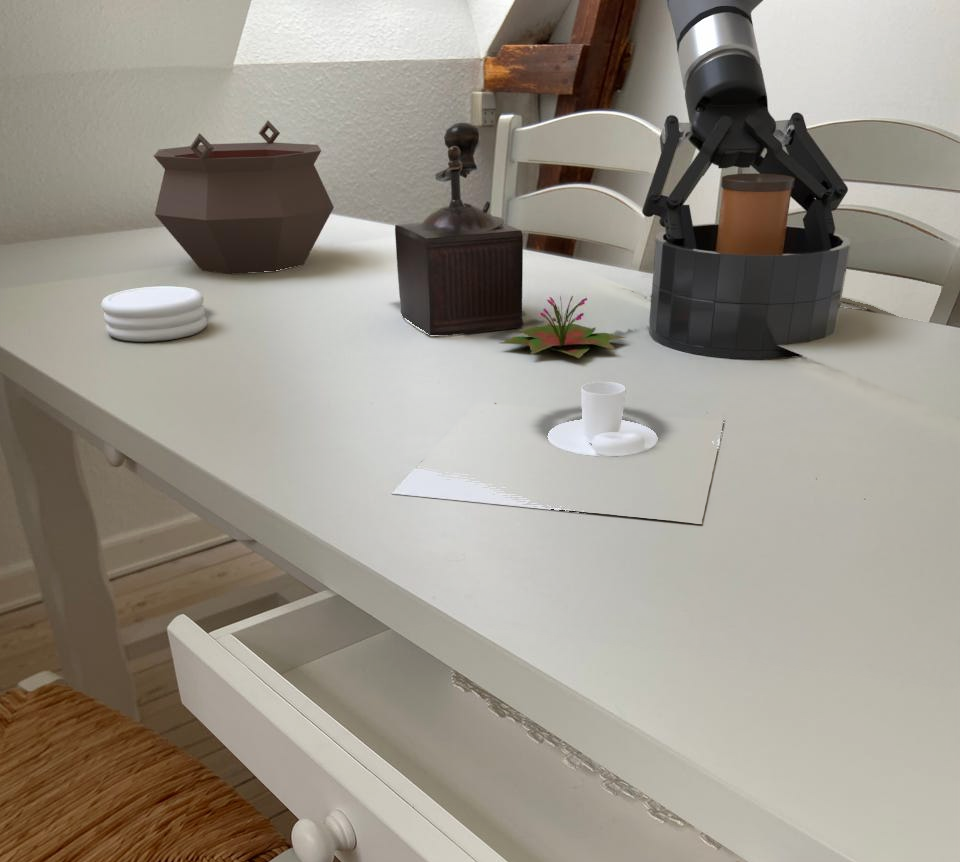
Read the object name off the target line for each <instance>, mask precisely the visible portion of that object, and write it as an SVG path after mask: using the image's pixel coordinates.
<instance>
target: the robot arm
mask: <svg viewBox="0 0 960 862" xmlns="http://www.w3.org/2000/svg"><path fill="white" fill-rule="evenodd" d="M763 1H764V0H666V5H667V9H668V12H669V14H670V19H671V23H672V24H671V25H672V28H673V32H674V37H675V42H676V52H677V59H678V65H679V70H680V76H681V82H682V88H683V90H684V99H685V105H686V111H687V117H688V122H679V118H678V117H677V116H676V115H674V114H669V115H668V116H666V118H665V120H664V124H663V126H662V129H661V133H660V134H659V135H660V136H659V144H660V155H659V158H658V161H657V164H656V167H655V170H654V173H653V177H652V180H651V182H650V186H649V187H648V188H649V189H648V192H647V195H646V197H645V200H644V203H643V206H642V209H641V212H642V215H643V216H644V217H647V218H650V217H653V216H657V217H659V222H658V223H659V225H660V226H661V227H663V228H664V229H665V230H664V231H666V237H667V242H669V243H671V244H674V245H678V246H681V247H686V248H692V249H697V247H696V241H695V235H694V230H693V225H694V224H693V219H692V218H693V217H692V213H691V207H690V204H685V203H686V201H687V200H688V198H689V197H690V196H691V194H692V192H693V191H694V190H695V188H696V187H697V185H698V183H699V182H700V181H701V179H702V178H703V177H704V176H705V175H706V174H707V172H708V170H709V169H710V168H711V166H712V165H715V166H717V168H718V169H729V168H733V167H735V168H742V169H745V168H750V167H752V168H753V169H754V170H755V171H756V172H757V173H758V174H777V175H786V176H791V177H794V178H795V181H794V187H793V189H792V190H791V199H793V201H795V202H796V203H797V204H798V205H799V206H800V207H801V208H802V209H803V210H804V211H806V212H805V215H804V217H802V223H803V227H804V228H805V233H806V238H807V243H808V248H809V252H818V251H823V250H828V249H832V248H831V243H830V239H831V237H832V236H833V234H834V233H836V225H835V220H834V216H833V212H834V211H836V210H837V209H838V208H839V206H840V205H841V203H842V201H843V200H844V198H845V196H846V195H847V193H848V191H849V188H848V185H847V184H846V183H845V182H844V180H843V178H842V177H841V176H840V175H839V173H838V171H837V170H836V169H835V168H834V166H833V165H832V163H831V162H830V161H829V159H828V158H827V156H826V155H825V154H824V152H823V151H822V150H821V148H820V147H819V145H818V144H817V143H816V141H815V139H814V138H813V137H812V136H811V134H810V133H809V131H808V128H807V125H806V122H805V118H804V115H803V114H802V113H800V112H793V113H792V114H791V116H790V118H789V119H783V120H775V118H774V116H772V115H771V113H770V111H769V104H768V95H767V94H768V93H767V90H766V89H767V88H766V84H765V79H764V78H765V77H764V74H763V70H762V67H761V58H760V54H759V49H758V44H757V39H756V35H755V29H754V23H753V19H752V12H753V11H754V10H755V9H756V8H757V7H758V6H759V5H760V4H761V3H762V2H763ZM685 140H688V141H689V143H690V144H691V145H693V147H695V149H697V151H698V152H697V154H696V156H695V157H694V158H693V160H692V162H691V163H690V164H689V166H688V168H687V169H686V171H684V174H683V175H682V176H681V178H680V179H679V180H678V182H677V184H676V185H675V186H674V188H673V189H672V191H671V193H670V194H669V195H668V196H667V195H663V190H664V187H665V184H666V181H667V178H668V176H669V172H670V169H671V167H672V164H673V160H674V158H675V154H676V151H677V150H678V148H680V147H682V146H683V144H684V141H685ZM784 148H785V149H786V150H785V149H784ZM765 150H766V152H765V155H764V157H763V156H762V154H763V152H764V151H765Z"/></svg>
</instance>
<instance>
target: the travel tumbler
mask: <svg viewBox="0 0 960 862" xmlns="http://www.w3.org/2000/svg"><path fill="white" fill-rule="evenodd" d="M794 181H795V178H794V177H791V176H786V175H777V174H760V173H734V174H725V175H723V176H721V183H720V187H721V188H722V189H721V198H720V208H719V218H718V223H719V226H718V236H717V245H716V252H722V253H738V254H783V248H784V241H785V234H786V227H787V225H788V219H789V213H790V212H789V211H790V204H791V199H792V197H791V190H792V189H793V187H794Z"/></svg>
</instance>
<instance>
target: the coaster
mask: <svg viewBox="0 0 960 862" xmlns="http://www.w3.org/2000/svg"><path fill="white" fill-rule="evenodd" d="M204 301H205V300H204V296H203V294H202V293H201V292H200V291H198V289H195V288H190V287H185V286H174V285H173V286H172V285H171V286H169V285H164V286H163V285H161V286H160V285H159V286H145V287H136V288H130V289H125V290H121V291H117V292H114V293H111V294H108V295H106V296H105V297H104V298H103V299H102V301H101V305H100V307H101V309H102V311H103V320H104V321H105V330H106V332H107V334H108V335H109V336H110V337H112V338H113V339H116V340H120V341H125V342H140V343H143V342H146V343H147V342H148V343H149V342H163V341H164V342H165V341H170V340H171V341H172V340H176V339H182V338H186V337H190V336H193V335H195V334H198V333H200V332H202V331H203V330H204V329H205V328H206V326H207V322H208V319H207V318H206V316H205V314H206V308H205V305H203V304H204Z"/></svg>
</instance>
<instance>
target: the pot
mask: <svg viewBox="0 0 960 862" xmlns="http://www.w3.org/2000/svg"><path fill="white" fill-rule="evenodd" d="M718 226H719V222H718V223H702V224H693V230H694V235H695V241H696V247H697V249H692V248H686V247H681V246H678V245H674V244H671V243H669V242H667V237H666V231H665V230H662V231H660V232H658V233H657V234H656V235H655V241H654V252H653V254H654V255H653V265H652V266H653V268H652V280H651V281H652V283H651V294H650V305H649V307H650V308H649V321H648V322H649V323H648V325H649V326H648V334H649V336H650V337H651V339H653V340H654V341H655V342H656V343H658V344H660V345H663V346H665V347H668V348H671V349H674V350H677V351H681V352H685V353H688V354H693V355H694V354H695V355H700V356H706V357H713V358H723V359H724V358H726V359H735V360H736V359H737V360H777V359H788V358H789V359H790V358H797V357H803V354H800V353H798V352H795V351H794V350H793V351H792V350H790V349H787V348H785V347H783V346H789V345H796V344H797V345H798V344H803V343H804V344H805V343H811V342H813V341H817V340H821V339H825V338H827V337H829V336H831V335H832V334H834V333H835V332H836V330H837V327H838V322H839V315H840V309H841V304H842V298H843V292H844V286H845V281H846V275H847V267H848V262H849V256H850V251H851V247H852V246H851V245H852V241H851V240H850V239H849V238H848V237H847V236H845V235H842V234H839V233H837V232H834V234H833V236H832V237H831V239H830V243H831V248H832V249H828V250H823V251H818V252H809V248H808V243H807V238H806V233H805V228H804V226H799V225H790V224H787V227H786V234H785V241H784V248H783V254H738V253H722V252H716V245H717V236H718Z"/></svg>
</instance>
